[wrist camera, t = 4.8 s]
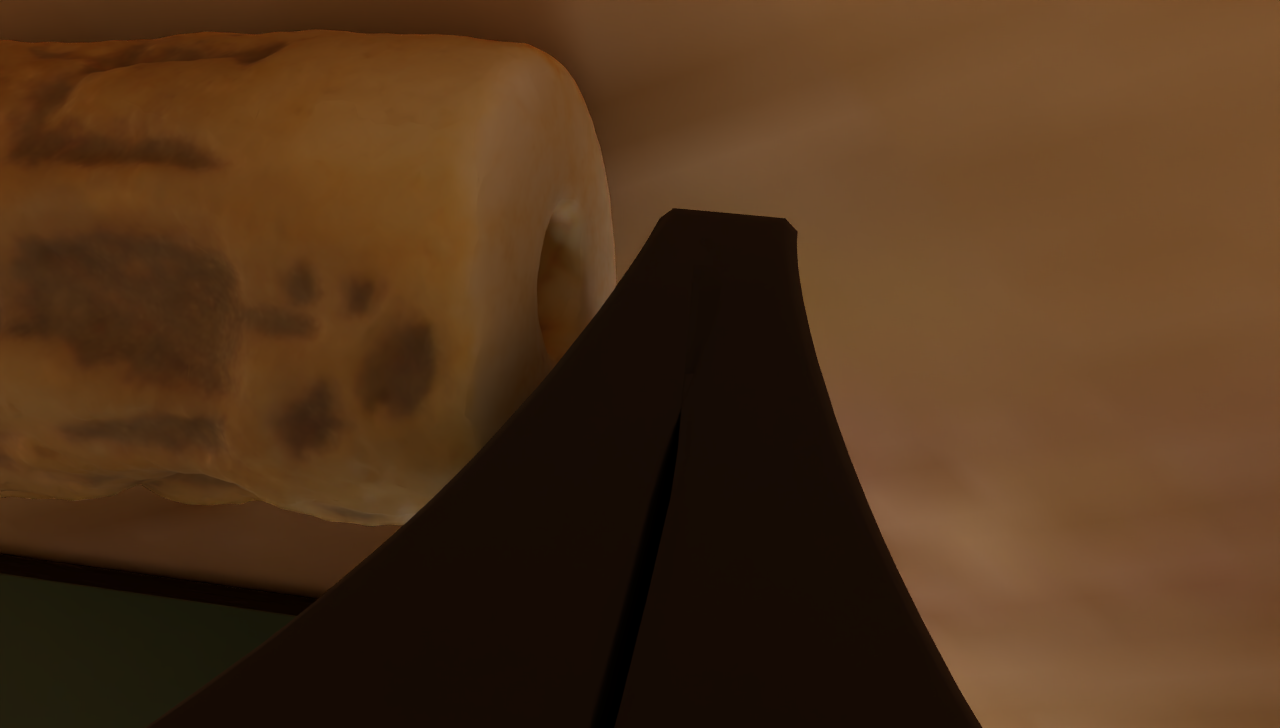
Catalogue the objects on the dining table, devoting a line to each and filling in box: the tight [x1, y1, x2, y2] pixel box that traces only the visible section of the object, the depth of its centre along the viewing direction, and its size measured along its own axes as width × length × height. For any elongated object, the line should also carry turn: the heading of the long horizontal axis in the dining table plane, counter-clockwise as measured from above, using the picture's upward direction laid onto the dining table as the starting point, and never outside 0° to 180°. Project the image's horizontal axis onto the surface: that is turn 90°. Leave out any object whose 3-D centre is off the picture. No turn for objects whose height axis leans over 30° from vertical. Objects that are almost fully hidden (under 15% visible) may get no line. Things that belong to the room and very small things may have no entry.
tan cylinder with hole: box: [0, 29, 616, 527], centre depth 10 cm, size 8×4×4 cm, turn 98°
